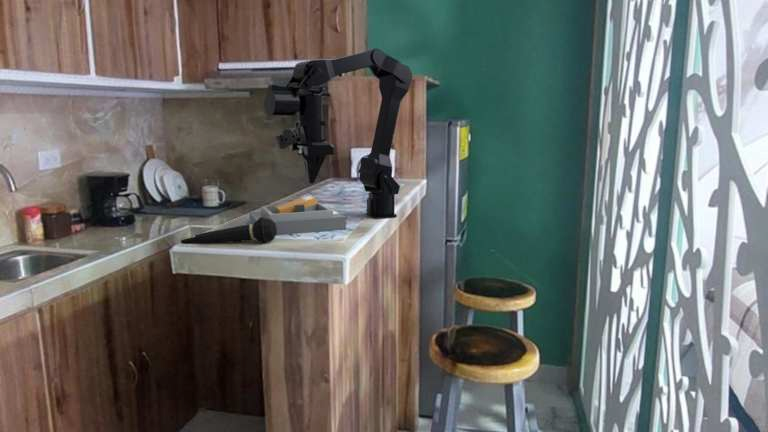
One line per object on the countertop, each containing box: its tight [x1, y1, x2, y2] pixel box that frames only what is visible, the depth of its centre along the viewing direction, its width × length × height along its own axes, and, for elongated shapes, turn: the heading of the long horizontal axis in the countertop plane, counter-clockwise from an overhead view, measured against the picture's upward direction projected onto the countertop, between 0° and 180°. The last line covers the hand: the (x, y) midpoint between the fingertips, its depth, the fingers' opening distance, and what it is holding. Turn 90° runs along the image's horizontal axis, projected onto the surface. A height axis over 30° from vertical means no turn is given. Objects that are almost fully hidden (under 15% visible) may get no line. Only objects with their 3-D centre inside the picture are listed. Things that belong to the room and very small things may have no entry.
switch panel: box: [248, 199, 347, 236], centre depth 124 cm, size 20×14×6 cm
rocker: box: [274, 194, 319, 213], centre depth 124 cm, size 9×5×2 cm, turn 112°
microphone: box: [180, 217, 278, 245], centre depth 109 cm, size 6×6×20 cm
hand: (311, 183), depth 124 cm, fingers closed
